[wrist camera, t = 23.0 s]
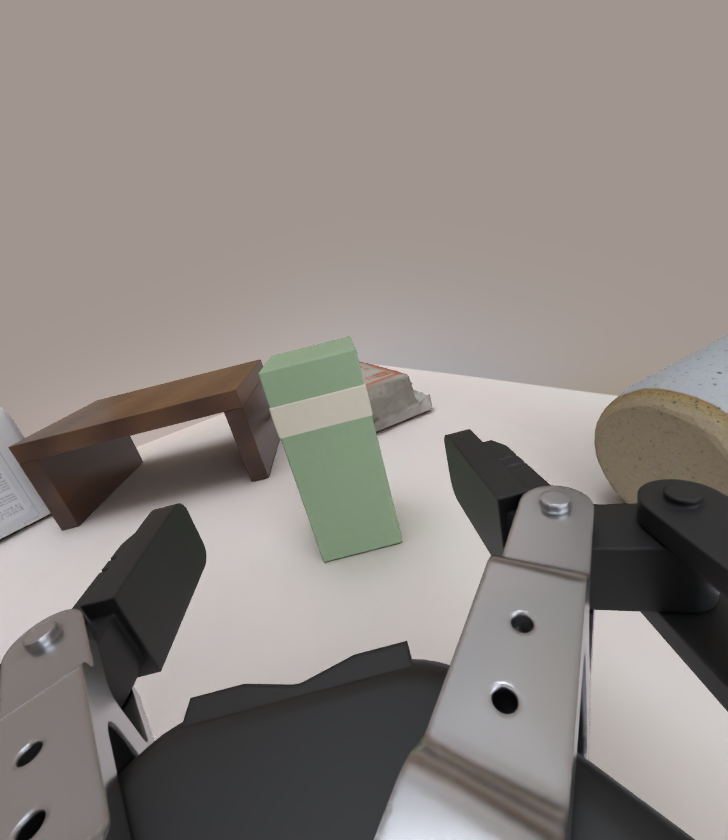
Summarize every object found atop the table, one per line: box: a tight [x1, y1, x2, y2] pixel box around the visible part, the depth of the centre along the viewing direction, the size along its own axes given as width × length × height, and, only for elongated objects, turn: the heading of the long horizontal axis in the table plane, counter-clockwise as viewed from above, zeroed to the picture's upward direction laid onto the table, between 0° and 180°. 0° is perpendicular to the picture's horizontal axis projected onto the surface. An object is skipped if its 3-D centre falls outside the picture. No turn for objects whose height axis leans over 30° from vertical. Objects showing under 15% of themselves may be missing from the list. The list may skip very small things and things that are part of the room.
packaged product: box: [359, 362, 432, 432], centre depth 42 cm, size 18×5×10 cm
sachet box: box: [259, 337, 402, 562], centre depth 20 cm, size 5×4×11 cm
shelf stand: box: [8, 360, 280, 530], centre depth 36 cm, size 18×12×8 cm, turn 96°
